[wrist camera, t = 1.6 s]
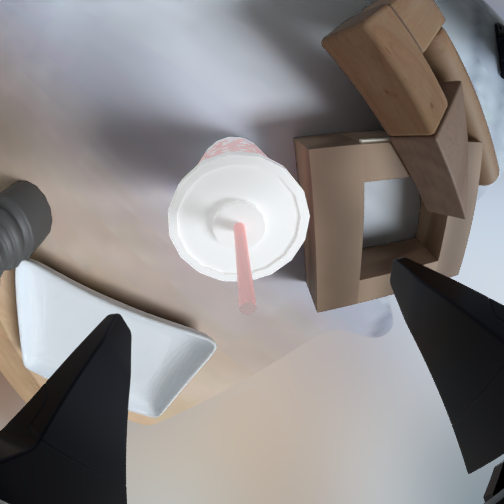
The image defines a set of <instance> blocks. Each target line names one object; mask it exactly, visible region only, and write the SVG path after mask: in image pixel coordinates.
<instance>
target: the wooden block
mask: <svg viewBox="0 0 504 504" xmlns="http://www.w3.org/2000/svg"><path fill="white" fill-rule="evenodd" d="M444 22H445V17H444V16H443V14H442V13H441V11H440V10H439V8H438V7H437V5H436V3H435V2H434V1H433V0H376V1H375V2H373V3H372V4H370V5H369V6H367V7H366V8H364V9H363V10H362V12H361V13H360V14H358V15H356V16H354V17H352V18H350V19H348V20H346V21H345V22H343V23H342V24H341V25H340V26H338V27H337V28H336V29H334V30H333V31H332V32H330V33H329V34H328V35H327V36H325V37H324V38H323V40H322V42H321V44H322V46H323V47H324V49H325V50H326V51H327V52H328V53H329V54H330V56H331V57H332V58H333V59H334V60H335V62H336V63H337V64H338V65H339V66H340V68H341V69H342V70H343V71H344V73H345V74H346V75H347V77H348V78H349V79H350V81H351V82H352V83H353V84H354V86H355V87H356V89H357V90H358V91H359V93H360V94H361V95H362V97H363V98H364V100H365V101H366V102H367V104H368V105H369V107H370V108H371V110H372V111H373V113H374V114H375V116H376V117H377V119H378V120H379V122H380V123H381V125H382V127H383V128H384V130H385V131H386V133H387V134H388V135H390V140H391V142H392V144H393V145H394V147H395V149H396V150H397V152H398V154H399V156H400V157H401V159H402V161H403V163H404V165H405V167H406V168H407V170H408V172H409V174H410V176H411V178H412V180H413V182H414V184H415V186H416V188H417V190H418V192H419V194H420V196H421V198H422V200H423V202H424V204H425V207H426V209H427V211H430V212H434V213H439V214H443V215H448V216H452V217H456V218H460V219H464V220H465V219H466V215H467V202H468V174H469V161H468V139H471V140H476V141H480V142H483V149H482V161H481V170H480V178H479V185H483V186H485V185H490V184H491V183H493V182H494V181H495V180H496V179H497V178H498V176H499V166H498V162H497V158H496V154H495V150H494V146H493V142H492V139H491V135H490V132H489V129H488V126H487V122H486V119H485V116H484V113H483V111H482V108H481V105H480V102H479V100H478V97H477V95H476V92H475V90H474V87H473V85H472V82H471V80H470V78H469V76H468V73H467V71H466V69H465V67H464V65H463V63H462V61H461V59H460V57H459V55H458V53H457V51H456V49H455V47H454V45H453V43H452V41H451V40H450V38H449V36H448V34H447V33H446V31H445V30H444V29H443V28H442V25H443V24H444Z"/></svg>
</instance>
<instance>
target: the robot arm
mask: <svg viewBox="0 0 504 504" xmlns="http://www.w3.org/2000/svg"><path fill="white" fill-rule="evenodd" d="M495 28H496V34H497V40H498V46H499V54H500V62H501V73H502V77H503V79H504V26H503V25H501V24H500V23H495ZM390 284H391V287H392V290H393V292H394V294H395V297H396V299H397V302H398V304H399V307H400V309H401V312H402V314H403V316H404V319H405V321H406V324H407V325H408V328H409V330H410V332H411V333H412V335H413V337H414V340H415V341H416V343H417V346H418V347H419V350H420V351H421V354H422V356H423V358H424V360H425V362H426V364H427V366H428V369H429V371H430V373H431V375H432V377H433V380H434V382H435V384H436V387H437V389H438V391H439V394H440V396H441V398H442V401H443V403H444V406H445V408H446V411H447V413H448V416H449V418H450V421H451V424H452V427H453V429H454V432H455V435H456V438H457V441H458V444H459V447H460V450H461V453H462V456H463V459H464V462H465V465H466V469H467V472H468V474H470V473H472V472H474V471H476V470H477V469H479V468H481V467H483V466H485V465H486V464H488V463H490V462H491V461H493V460H495V459H496V458H498V457H499V456H501V455H502V454H504V305H502V304H499V303H498V302H496V301H494V300H492V299H490V298H488V297H486V296H485V295H483V294H481V293H479V292H477V291H475V290H473V289H471V288H469V287H467V286H465V285H463V284H461V283H459V282H457V281H455V280H453V279H451V278H449V277H447V276H445V275H443V274H441V273H438V272H436V271H434V270H432V269H430V268H428V267H426V266H424V265H421V264H419V263H417V262H415V261H413V260H410V259H408V258H406V257H401V258H397V259H395V260H393V263H392V269H391V275H390ZM131 343H132V335H131V331H130V329H129V327H128V326H127V324H126V322H125V321H124V319H123V317H122V316H121V315H120V314H119V313H115V314H109V315H107V316H106V317H105V318H104V319H103V320H102V321H101V322H100V323H99V324H98V326H97V327H96V328H95V329H94V330H93V331H92V332H91V333H90V334H89V335H88V336H87V337H86V338H85V339H84V340H83V341H82V342H81V344H80V345H79V346H78V347H77V348H76V349H75V350H74V351H73V352H72V353H71V354H70V355H69V357H68V358H67V359H66V360H65V361H64V362H63V363H62V364H61V365H60V367H59V368H58V369H57V370H56V371H55V372H54V373H53V374H52V376H51V377H50V378H49V379H48V380H47V381H46V384H44V385H43V386H42V387H41V388H40V390H39V391H38V392H37V393H36V394H35V395H34V396H33V397H32V399H31V400H30V401H29V402H28V403H27V404H26V405H25V406H24V407H23V408H22V409H21V410H20V412H18V413H17V415H16V416H15V417H14V418H13V419H12V420H11V421H10V422H9V423H8V424H7V425H6V426H5V427H4V428H3V429H2V430H1V431H0V504H127V495H126V438H127V419H128V404H129V392H130V381H131ZM484 500H485V503H484V504H504V460H503V461H502V462H501V463H499V464H498V465H497V466H495V468H494V470H493V473H492V476H491V479H490V481H489V484H488V487H487V489H486V492H485V494H484Z"/></svg>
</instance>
